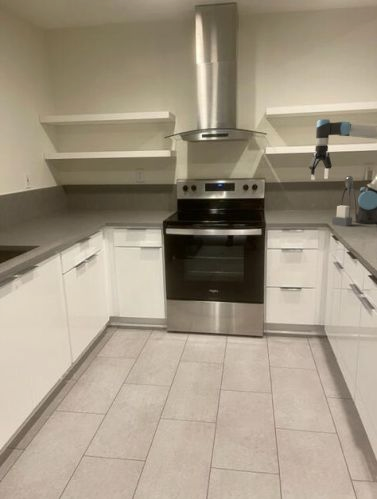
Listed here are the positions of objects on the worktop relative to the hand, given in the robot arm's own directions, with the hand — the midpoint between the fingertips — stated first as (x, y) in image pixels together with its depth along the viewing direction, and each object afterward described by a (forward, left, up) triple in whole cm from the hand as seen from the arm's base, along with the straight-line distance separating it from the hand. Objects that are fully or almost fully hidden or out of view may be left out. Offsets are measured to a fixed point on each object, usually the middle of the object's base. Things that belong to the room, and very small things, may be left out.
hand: (319, 179), depth 246 cm
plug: (-7, +13, -29) cm, 33 cm away
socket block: (-7, +13, -29) cm, 33 cm away
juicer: (-24, +7, -29) cm, 39 cm away
